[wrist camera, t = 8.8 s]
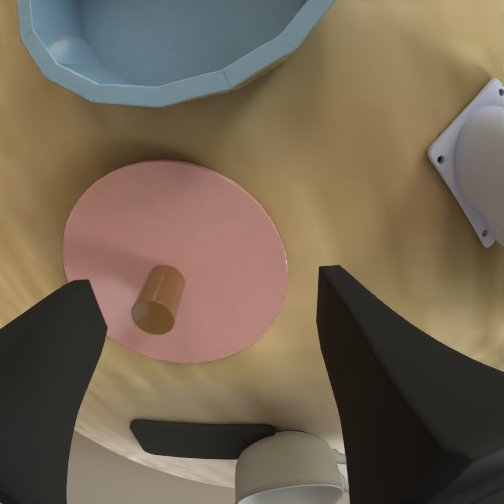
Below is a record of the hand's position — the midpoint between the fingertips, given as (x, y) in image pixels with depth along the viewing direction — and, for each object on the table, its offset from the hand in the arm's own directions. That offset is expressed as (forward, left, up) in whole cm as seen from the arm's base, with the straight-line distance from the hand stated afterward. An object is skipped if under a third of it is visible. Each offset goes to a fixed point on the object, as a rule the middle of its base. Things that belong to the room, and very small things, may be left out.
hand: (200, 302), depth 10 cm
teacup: (-22, +16, -9) cm, 29 cm away
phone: (-14, +22, -9) cm, 28 cm away
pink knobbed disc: (0, +6, -9) cm, 11 cm away
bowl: (+10, -8, -9) cm, 16 cm away
